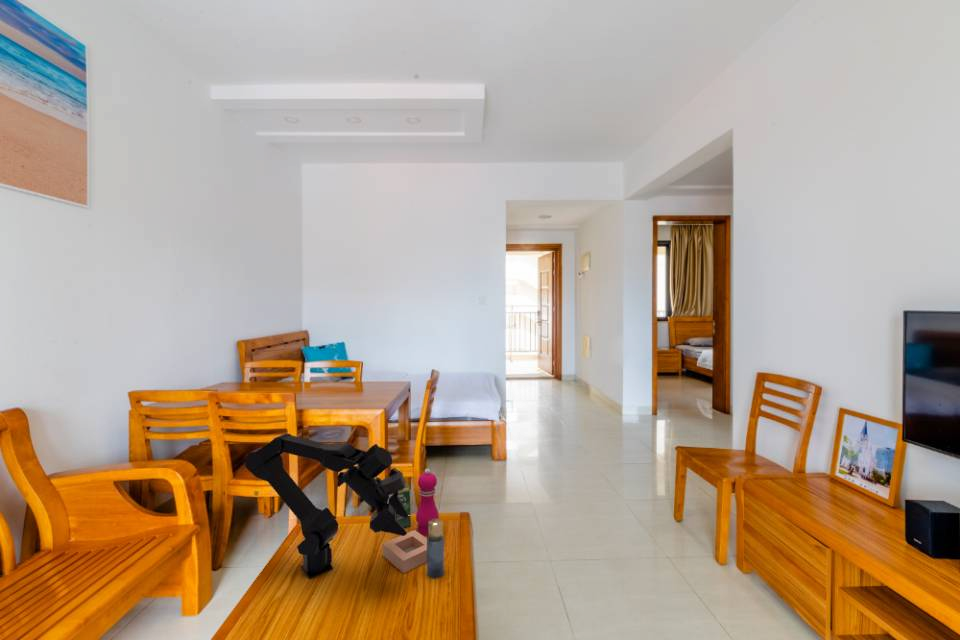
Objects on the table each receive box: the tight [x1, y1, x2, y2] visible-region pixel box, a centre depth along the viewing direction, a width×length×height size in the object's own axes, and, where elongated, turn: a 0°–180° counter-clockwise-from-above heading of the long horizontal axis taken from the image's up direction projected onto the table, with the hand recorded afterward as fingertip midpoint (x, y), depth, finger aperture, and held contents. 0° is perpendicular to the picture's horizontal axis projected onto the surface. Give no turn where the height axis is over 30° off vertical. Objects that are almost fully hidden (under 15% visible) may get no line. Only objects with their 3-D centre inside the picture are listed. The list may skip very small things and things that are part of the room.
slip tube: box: [426, 518, 445, 579], centre depth 118 cm, size 5×5×14 cm
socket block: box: [382, 529, 427, 574], centre depth 125 cm, size 11×11×4 cm
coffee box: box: [396, 483, 412, 529], centre depth 141 cm, size 8×3×13 cm, turn 111°
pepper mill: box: [415, 468, 440, 536], centre depth 139 cm, size 7×7×20 cm
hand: (406, 525), depth 117 cm, fingers open, 9 cm apart
